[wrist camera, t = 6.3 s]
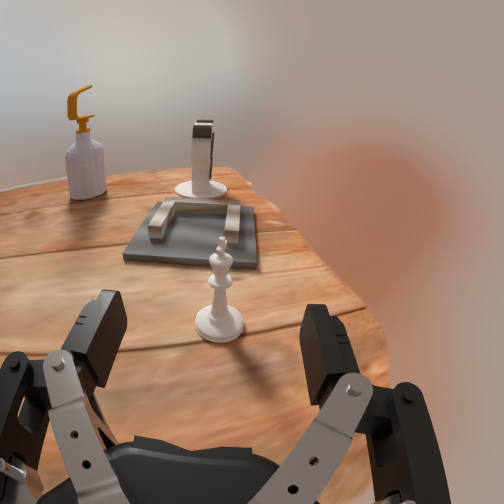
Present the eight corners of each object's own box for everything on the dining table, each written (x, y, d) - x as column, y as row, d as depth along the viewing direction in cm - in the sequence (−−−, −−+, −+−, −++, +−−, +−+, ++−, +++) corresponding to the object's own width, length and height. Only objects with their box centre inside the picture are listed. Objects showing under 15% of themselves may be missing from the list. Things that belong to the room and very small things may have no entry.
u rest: (256, 269, 37) (258, 249, 35) (123, 259, 36) (120, 240, 34) (252, 212, 52) (254, 197, 50) (157, 206, 51) (157, 191, 49)
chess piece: (187, 335, 26) (181, 247, 21) (204, 303, 30) (204, 220, 25) (236, 348, 26) (244, 260, 20) (248, 313, 30) (258, 230, 24)
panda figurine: (227, 201, 56) (232, 126, 48) (170, 200, 54) (171, 125, 46) (226, 182, 66) (230, 120, 58) (178, 181, 64) (179, 119, 56)
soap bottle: (113, 190, 57) (110, 82, 44) (81, 204, 50) (73, 86, 37) (94, 184, 60) (90, 86, 47) (64, 196, 53) (56, 91, 40)
